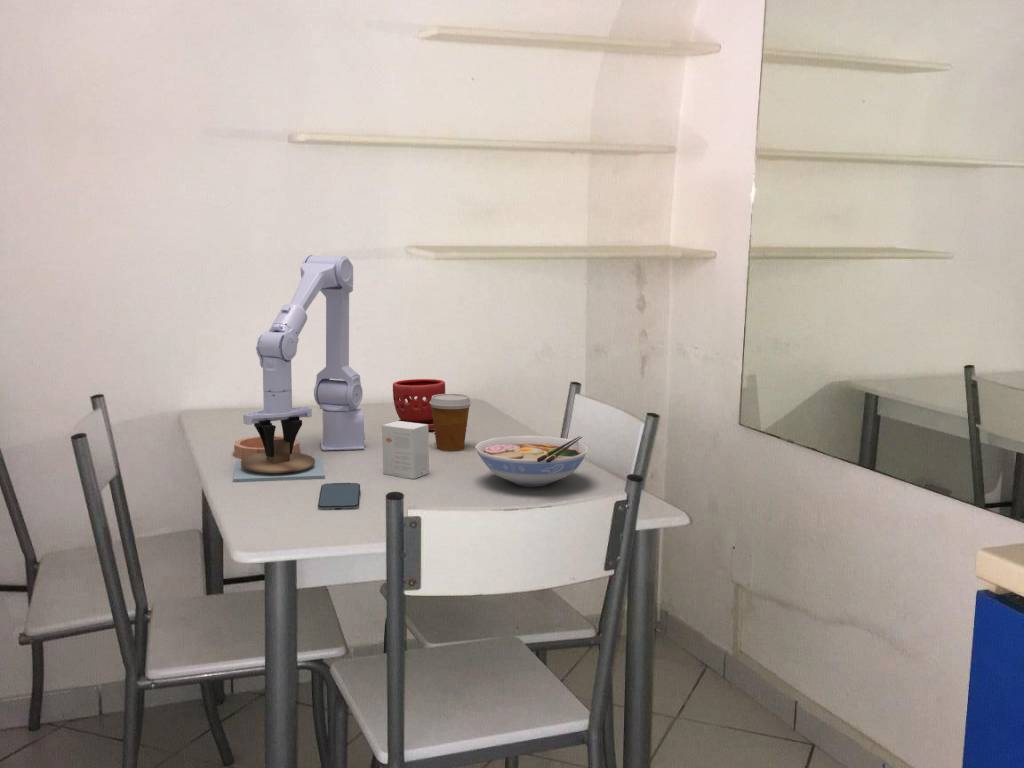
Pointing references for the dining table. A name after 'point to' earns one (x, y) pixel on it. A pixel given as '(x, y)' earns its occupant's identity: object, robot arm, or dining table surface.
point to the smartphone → (339, 496)
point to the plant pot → (417, 407)
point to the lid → (278, 460)
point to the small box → (405, 449)
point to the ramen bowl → (532, 458)
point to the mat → (310, 473)
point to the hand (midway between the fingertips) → (278, 454)
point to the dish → (256, 446)
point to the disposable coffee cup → (450, 420)
